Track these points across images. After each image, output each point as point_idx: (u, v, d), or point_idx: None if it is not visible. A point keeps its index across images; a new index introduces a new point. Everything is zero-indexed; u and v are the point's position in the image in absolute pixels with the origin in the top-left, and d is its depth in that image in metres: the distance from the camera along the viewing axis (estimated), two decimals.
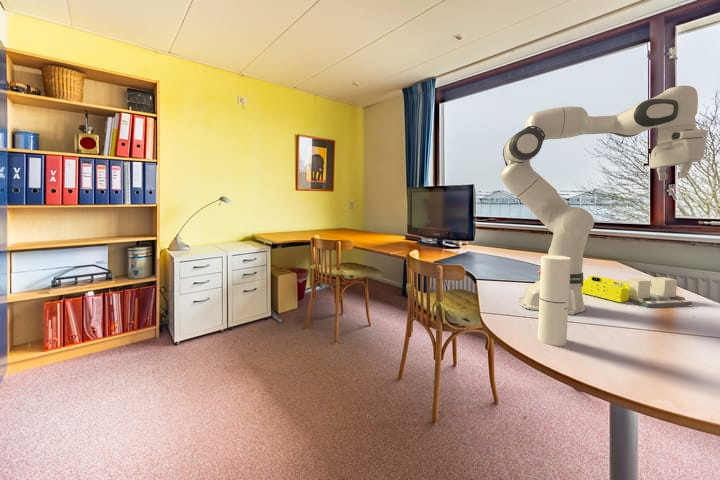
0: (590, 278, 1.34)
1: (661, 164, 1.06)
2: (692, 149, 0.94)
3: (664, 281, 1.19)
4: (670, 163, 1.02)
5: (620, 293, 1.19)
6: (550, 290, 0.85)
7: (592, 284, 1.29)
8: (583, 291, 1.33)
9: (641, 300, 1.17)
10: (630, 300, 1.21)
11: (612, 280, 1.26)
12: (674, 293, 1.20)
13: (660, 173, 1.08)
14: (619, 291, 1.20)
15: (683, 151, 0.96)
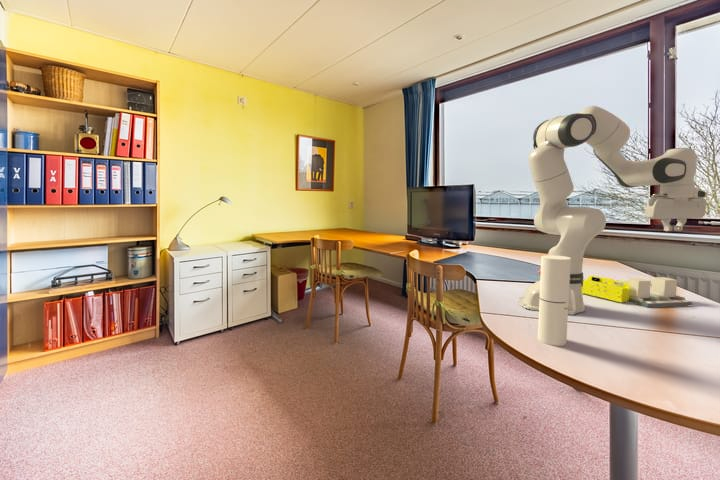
0: (590, 278, 1.34)
1: (672, 216, 1.10)
2: None
3: (664, 281, 1.19)
4: (683, 217, 1.11)
5: (621, 293, 1.19)
6: (550, 290, 0.85)
7: (592, 284, 1.29)
8: (583, 291, 1.32)
9: (641, 300, 1.17)
10: (630, 300, 1.21)
11: (612, 280, 1.26)
12: (674, 293, 1.20)
13: None
14: (620, 291, 1.19)
15: (699, 208, 1.11)
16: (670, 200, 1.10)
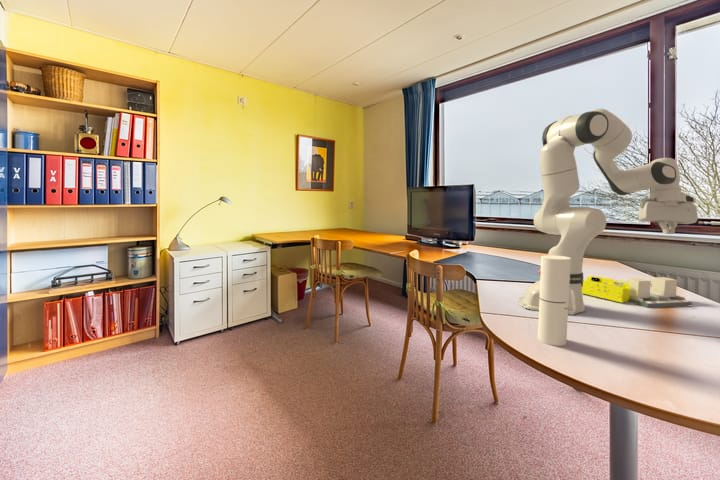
0: (589, 278, 1.34)
1: (665, 218, 1.16)
2: None
3: (664, 281, 1.19)
4: (676, 220, 1.16)
5: (621, 293, 1.19)
6: (550, 290, 0.85)
7: (592, 284, 1.29)
8: (583, 291, 1.32)
9: (641, 300, 1.17)
10: (630, 300, 1.21)
11: (612, 280, 1.26)
12: (674, 293, 1.20)
13: None
14: (620, 291, 1.19)
15: (690, 213, 1.16)
16: (660, 203, 1.17)
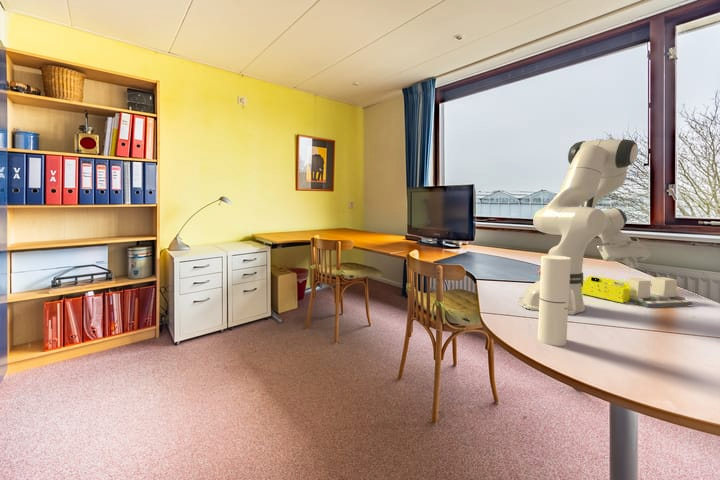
0: (589, 278, 1.33)
1: (624, 255, 1.36)
2: None
3: (664, 281, 1.19)
4: (634, 255, 1.36)
5: (622, 293, 1.19)
6: (550, 290, 0.85)
7: (592, 285, 1.28)
8: (583, 292, 1.32)
9: (641, 300, 1.17)
10: (630, 300, 1.21)
11: (612, 280, 1.26)
12: (674, 293, 1.20)
13: None
14: (621, 291, 1.19)
15: (641, 249, 1.38)
16: (614, 245, 1.39)
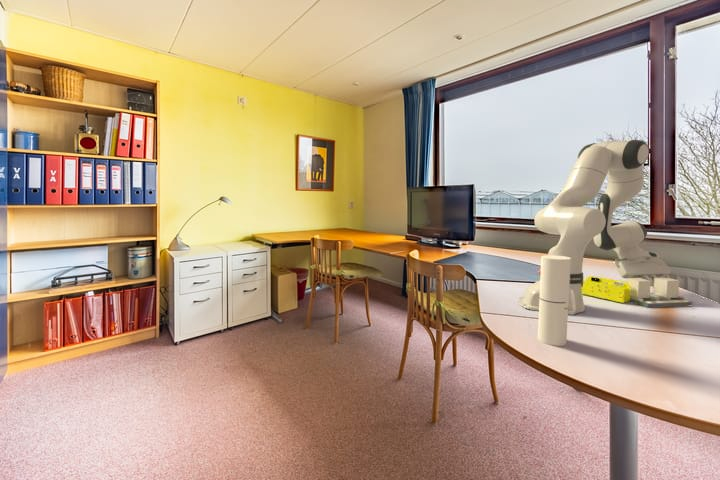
0: (589, 278, 1.33)
1: (643, 272, 1.27)
2: None
3: (666, 282, 1.19)
4: (653, 272, 1.27)
5: (623, 293, 1.19)
6: (550, 290, 0.85)
7: (593, 285, 1.28)
8: (583, 292, 1.31)
9: (641, 300, 1.17)
10: (630, 300, 1.21)
11: (612, 280, 1.26)
12: (676, 294, 1.19)
13: None
14: (622, 291, 1.19)
15: (661, 266, 1.30)
16: (631, 261, 1.31)
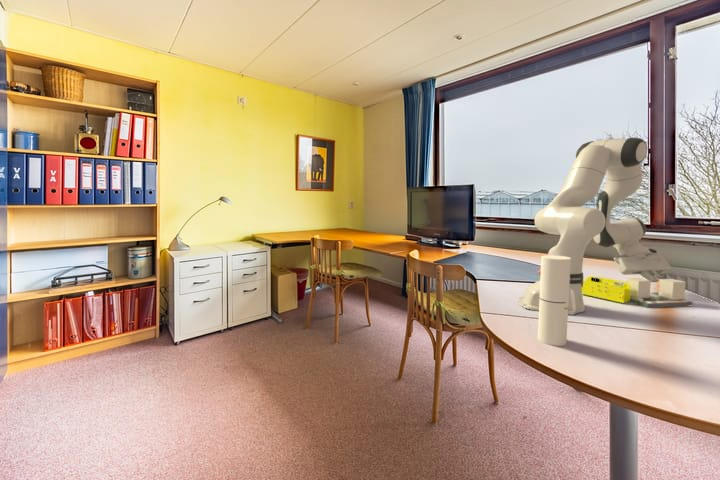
0: (589, 279, 1.33)
1: (643, 268, 1.27)
2: None
3: (672, 283, 1.16)
4: (653, 268, 1.27)
5: (623, 294, 1.19)
6: (550, 290, 0.85)
7: (593, 285, 1.28)
8: (583, 292, 1.31)
9: (641, 300, 1.17)
10: (630, 300, 1.21)
11: (612, 280, 1.25)
12: (682, 295, 1.17)
13: None
14: (622, 292, 1.19)
15: (661, 262, 1.30)
16: (631, 257, 1.31)
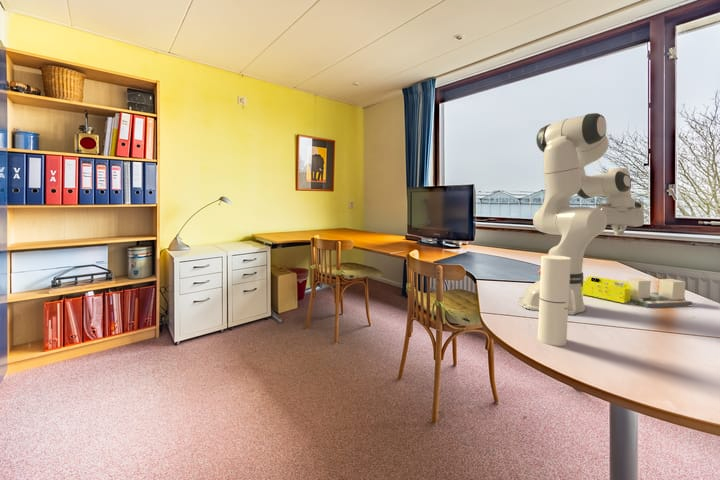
0: (589, 279, 1.33)
1: (616, 222, 1.33)
2: None
3: (672, 283, 1.16)
4: (626, 223, 1.33)
5: (623, 294, 1.18)
6: (550, 290, 0.85)
7: (593, 285, 1.28)
8: (583, 292, 1.31)
9: (641, 300, 1.17)
10: (630, 300, 1.21)
11: (612, 280, 1.25)
12: (682, 295, 1.17)
13: None
14: (622, 292, 1.19)
15: (638, 217, 1.33)
16: (613, 208, 1.33)
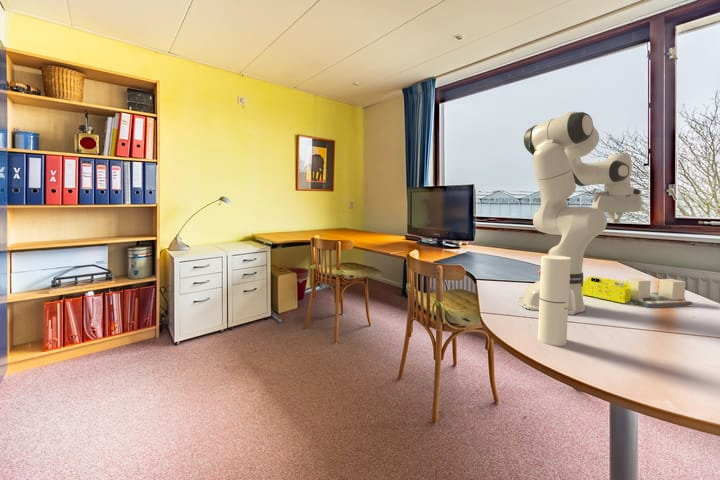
0: (589, 279, 1.33)
1: (613, 210, 1.32)
2: None
3: (672, 283, 1.16)
4: (622, 211, 1.32)
5: (624, 294, 1.18)
6: (550, 290, 0.85)
7: (593, 285, 1.27)
8: (583, 292, 1.31)
9: (641, 300, 1.17)
10: (630, 300, 1.21)
11: (613, 281, 1.25)
12: (682, 295, 1.17)
13: None
14: (623, 292, 1.18)
15: (635, 204, 1.32)
16: (611, 197, 1.31)
